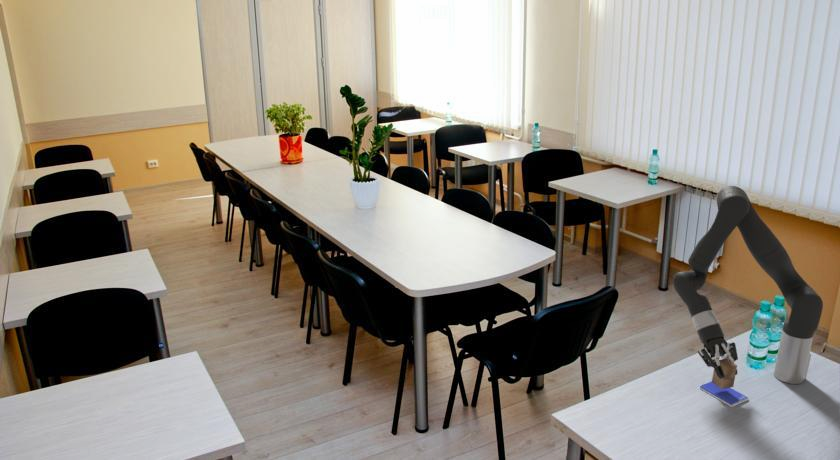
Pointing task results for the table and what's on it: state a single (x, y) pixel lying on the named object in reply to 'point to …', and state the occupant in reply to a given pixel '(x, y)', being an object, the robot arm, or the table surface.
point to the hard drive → (724, 394)
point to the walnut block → (729, 373)
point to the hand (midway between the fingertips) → (728, 376)
